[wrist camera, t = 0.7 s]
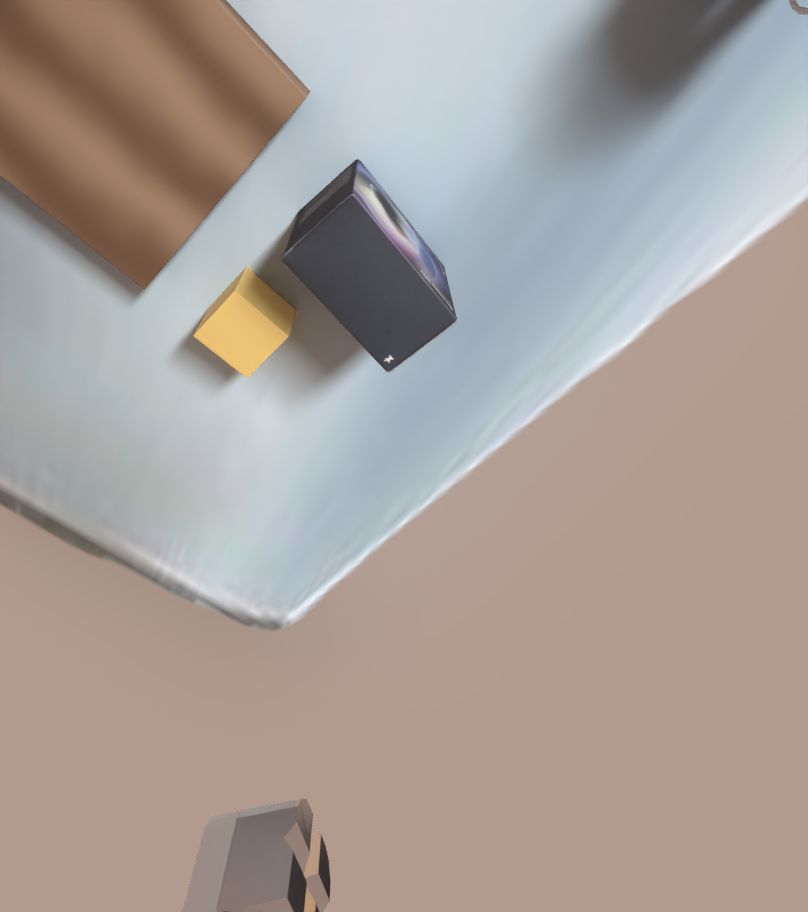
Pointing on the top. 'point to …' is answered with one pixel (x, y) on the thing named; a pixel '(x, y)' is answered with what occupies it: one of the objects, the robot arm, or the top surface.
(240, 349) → the mustard block
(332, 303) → the small box
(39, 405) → the top surface
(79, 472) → the top surface
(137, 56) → the base board
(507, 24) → the top surface
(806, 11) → the french press
